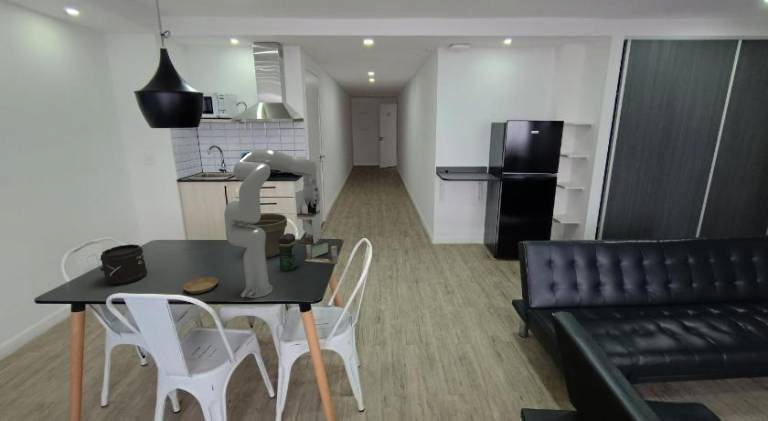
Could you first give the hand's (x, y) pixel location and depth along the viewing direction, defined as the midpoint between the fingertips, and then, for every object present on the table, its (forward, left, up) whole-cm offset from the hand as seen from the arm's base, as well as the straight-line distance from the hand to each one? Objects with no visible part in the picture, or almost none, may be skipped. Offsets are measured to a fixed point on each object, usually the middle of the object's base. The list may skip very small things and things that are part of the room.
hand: (312, 213), depth 199 cm
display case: (+17, +11, -25) cm, 32 cm away
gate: (-2, -4, -24) cm, 25 cm away
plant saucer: (-52, +34, -26) cm, 67 cm away
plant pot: (-5, +28, -25) cm, 38 cm away
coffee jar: (-21, +5, -25) cm, 34 cm away
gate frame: (-9, -9, -25) cm, 28 cm away
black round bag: (-53, +79, -25) cm, 99 cm away
